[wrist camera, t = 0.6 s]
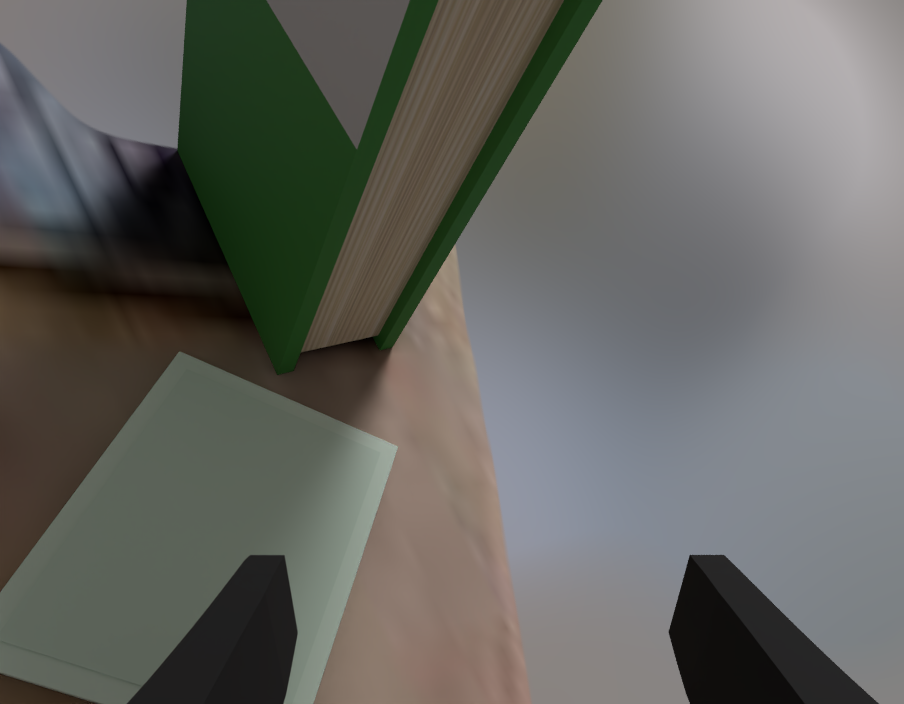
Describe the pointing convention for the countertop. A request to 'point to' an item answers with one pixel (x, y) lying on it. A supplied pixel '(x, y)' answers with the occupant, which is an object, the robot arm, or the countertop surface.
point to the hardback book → (355, 145)
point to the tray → (193, 534)
